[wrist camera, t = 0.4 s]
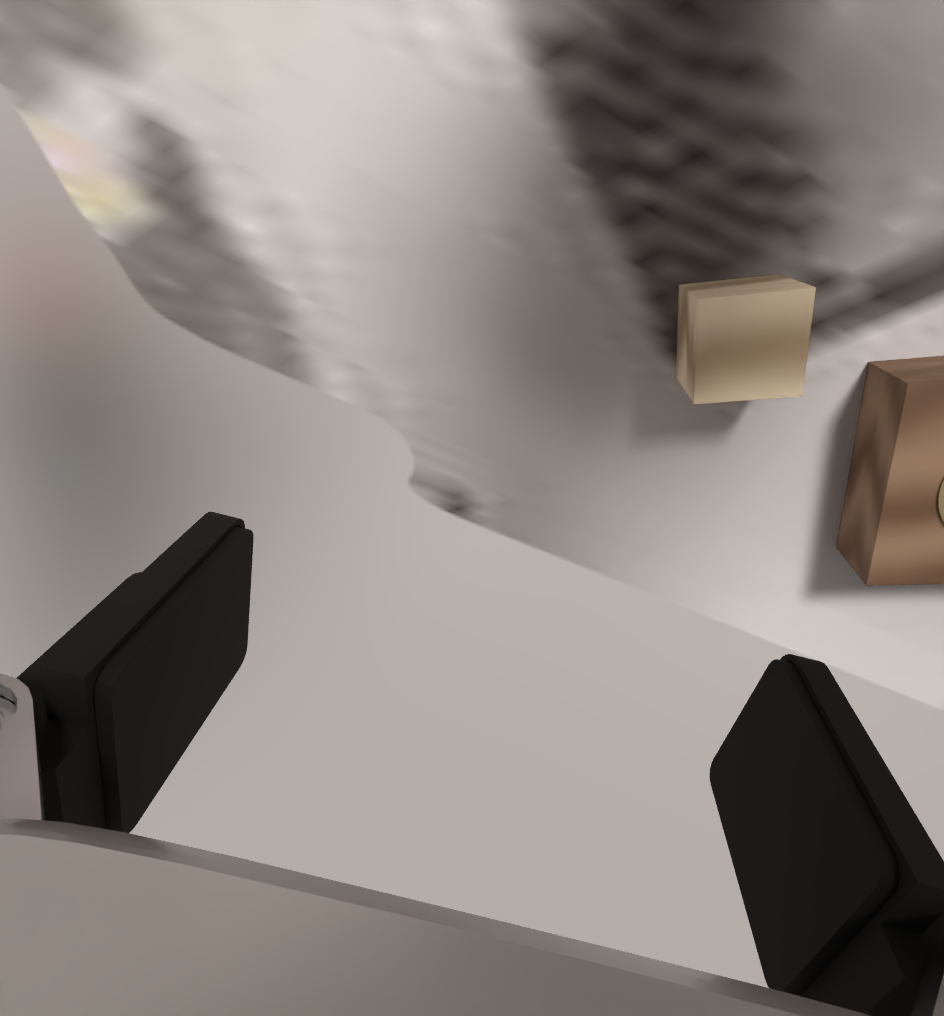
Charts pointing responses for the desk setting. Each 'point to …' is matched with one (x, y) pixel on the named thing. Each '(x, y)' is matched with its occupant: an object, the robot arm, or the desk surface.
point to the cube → (743, 338)
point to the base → (897, 476)
